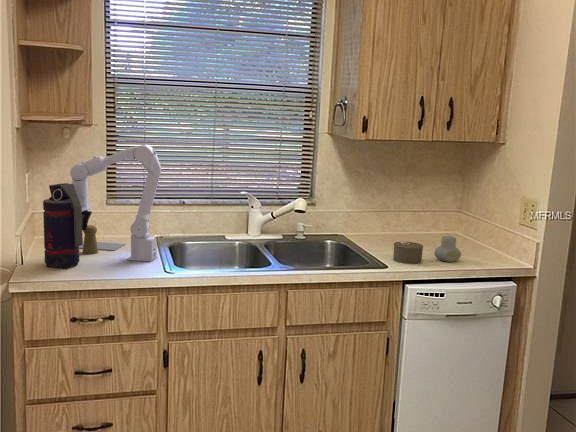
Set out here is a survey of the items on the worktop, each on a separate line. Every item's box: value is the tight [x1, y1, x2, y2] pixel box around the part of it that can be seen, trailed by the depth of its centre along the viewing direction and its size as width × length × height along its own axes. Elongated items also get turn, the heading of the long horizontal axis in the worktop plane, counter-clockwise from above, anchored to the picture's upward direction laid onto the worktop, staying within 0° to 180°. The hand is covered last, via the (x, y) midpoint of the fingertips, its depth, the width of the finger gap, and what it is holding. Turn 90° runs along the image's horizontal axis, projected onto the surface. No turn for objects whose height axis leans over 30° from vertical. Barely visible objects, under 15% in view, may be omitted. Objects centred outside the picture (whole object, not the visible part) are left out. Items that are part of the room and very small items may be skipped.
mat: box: [79, 241, 126, 252], centre depth 253 cm, size 16×12×1 cm
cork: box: [82, 224, 99, 255], centre depth 242 cm, size 6×6×11 cm
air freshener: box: [433, 235, 462, 263], centre depth 255 cm, size 11×8×10 cm
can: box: [392, 241, 424, 265], centre depth 252 cm, size 12×12×7 cm
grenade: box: [42, 182, 84, 270], centre depth 219 cm, size 14×12×30 cm
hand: (80, 231), depth 232 cm, fingers open, 4 cm apart
